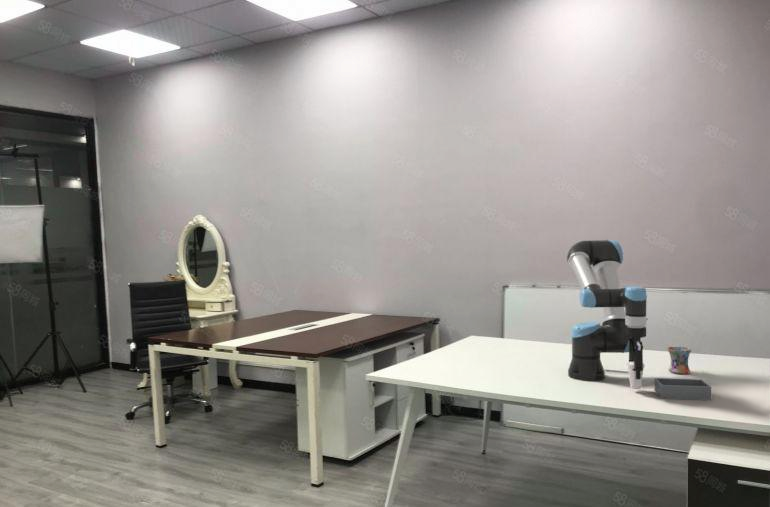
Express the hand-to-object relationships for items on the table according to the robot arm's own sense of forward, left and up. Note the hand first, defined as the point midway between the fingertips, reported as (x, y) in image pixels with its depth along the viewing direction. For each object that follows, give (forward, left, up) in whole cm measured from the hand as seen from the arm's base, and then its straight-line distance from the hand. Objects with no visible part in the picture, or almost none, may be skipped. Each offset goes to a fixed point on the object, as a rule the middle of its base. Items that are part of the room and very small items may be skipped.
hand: (635, 384), depth 219 cm
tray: (+16, -2, -3) cm, 17 cm away
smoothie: (0, 0, -2) cm, 2 cm away
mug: (+25, +34, -3) cm, 43 cm away
